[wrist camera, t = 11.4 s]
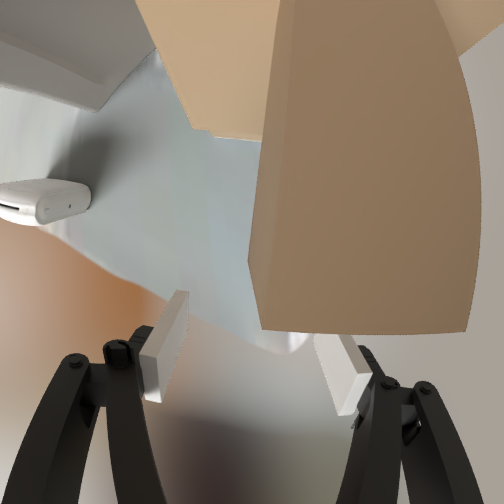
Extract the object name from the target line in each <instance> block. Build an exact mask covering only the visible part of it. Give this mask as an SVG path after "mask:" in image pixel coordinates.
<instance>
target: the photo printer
mask: <svg viewBox="0 0 504 504" xmlns="http://www.w3.org/2000/svg"><path fill="white" fill-rule="evenodd" d="M90 202H91V192H90V190H89V187H88V186H86V185H84V184H81V183H76V182H71V181H65V180H58V179H47V178H44V179H33V180H24V181H16V182H9V183H3V184H0V217H2V218H4V219H5V220H8V221H11V222H14V223H18V224H22V225H28V226H40V225H45V224H49V223H52V222H55V221H58V220H61V219H64V218H68V217H71V216H74V215H78V214H81V213H84V212H86V209H87V208H88V207H89V205H90Z"/></svg>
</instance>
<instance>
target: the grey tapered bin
mask: <svg viewBox="0 0 504 504" xmlns="http://www.w3.org/2000/svg"><path fill="white" fill-rule="evenodd" d="M155 48H156V46H155V44H154V42H153V40H152V37H151V35H150V33H149V31H148V28H147V26H146V24H145V22H144V20H143V17H142V15H141V13H140V11H139V8H138V6H137V4H136V2H135V0H0V87H2V88H7V89H11V90H16V91H20V92H24V93H28V94H31V95H35V96H39V97H43V98H46V99H50V100H53V101H57V102H60V103H63V104H67V105H70V106H73V107H76V108H80V109H83V110H86V111H89V112H92V113H97V112H98V111H99V110H100V109H101V108H102V106H103V105H104V104H105V103H106V101H107V100H108V99H109V98H110V96H111V95H112V94H113V93H114V92H115V90H116V89H117V88H118V87H119V86H120V85H121V83H122V82H123V81H124V80H125V79H126V78H127V77H128V76H129V74H130V73H131V72H132V71H133V70H134V69H135V68H136V67H137V66H138V65H139V64H140V63H141V62H142V61H143V60H144V59H145V58H146V57H147V56H148V55H149V54H150V53H151V52H152V51H153V50H154V49H155Z"/></svg>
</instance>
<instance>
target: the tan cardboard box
mask: <svg viewBox="0 0 504 504" xmlns="http://www.w3.org/2000/svg"><path fill="white" fill-rule="evenodd" d="M135 2H136V4H137V6H138V8H139V11H140V13H141V15H142V17H143V20H144V22H145V24H146V26H147V28H148V31H149V33H150V35H151V37H152V40H153V42H154V44H155V46H156V48H157V51H158V53H159V55H160V57H161V60H162V62H163V64H164V66H165V68H166V71H167V73H168V75H169V77H170V79H171V82H172V84H173V86H174V88H175V91H176V93H177V95H178V97H179V99H180V102H181V104H182V106H183V108H184V110H185V113H186V115H187V117H188V119H189V121H190V124H191V126H192V128H193V129H200V130H216V131H228V132H239V133H248V134H257V135H263V136H262V144H261V153H260V161H259V169H258V178H257V186H256V195H255V203H254V211H253V220H252V228H251V237H250V245H249V254H248V265H249V270H250V275H251V279H252V284H253V289H254V294H255V299H256V303H257V308H258V313H259V318H260V322H261V327H262V330H273V331H286V332H301V333H318V334H344V335H414V334H439V333H455V332H465V331H466V327H467V323H468V319H469V314H470V310H471V305H472V299H473V294H474V289H475V282H476V275H477V267H478V259H479V248H480V234H481V178H480V165H479V153H478V145H477V138H476V130H475V124H474V119H473V114H472V108H471V104H470V99H469V95H468V91H467V87H466V83H465V79H464V76H463V72H462V69H461V66H460V63H459V59H458V57H459V56H461V55H462V54H463V53H464V52H466V51H467V50H468V49H470V48H471V47H472V46H473V45H475V44H476V43H477V42H478V41H480V40H481V39H482V38H484V37H485V36H486V35H488V34H489V33H490V32H491V31H493V30H494V29H495V28H497V27H498V26H499V25H500V24H502V23H503V22H504V0H135Z"/></svg>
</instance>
